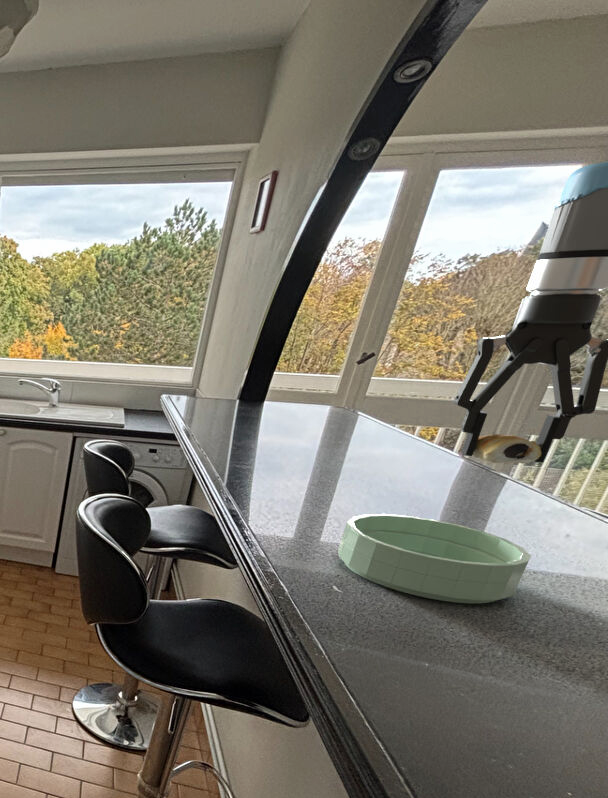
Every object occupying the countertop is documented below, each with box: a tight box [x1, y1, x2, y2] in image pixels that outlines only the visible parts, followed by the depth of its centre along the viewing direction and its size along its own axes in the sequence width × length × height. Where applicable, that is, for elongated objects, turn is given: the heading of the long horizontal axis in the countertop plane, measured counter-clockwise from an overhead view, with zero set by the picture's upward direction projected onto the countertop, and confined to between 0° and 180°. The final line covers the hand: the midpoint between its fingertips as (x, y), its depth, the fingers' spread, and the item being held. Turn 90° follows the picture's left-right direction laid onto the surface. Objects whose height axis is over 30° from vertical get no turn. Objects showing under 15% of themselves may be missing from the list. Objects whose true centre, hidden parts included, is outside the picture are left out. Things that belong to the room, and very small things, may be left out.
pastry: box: [472, 433, 541, 465], centre depth 89 cm, size 9×7×4 cm
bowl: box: [337, 513, 532, 604], centre depth 71 cm, size 16×16×5 cm
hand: (500, 457), depth 89 cm, fingers closed on pastry, 7 cm apart
